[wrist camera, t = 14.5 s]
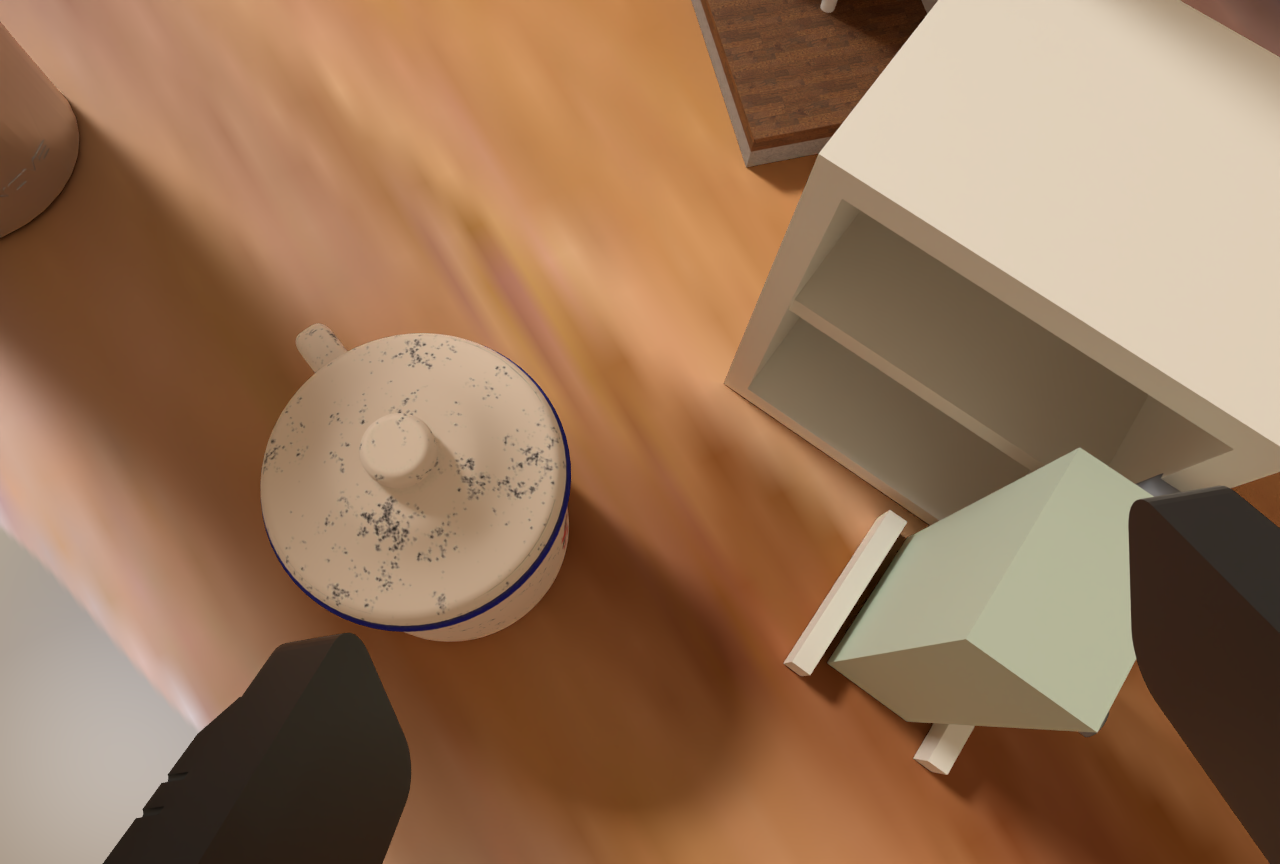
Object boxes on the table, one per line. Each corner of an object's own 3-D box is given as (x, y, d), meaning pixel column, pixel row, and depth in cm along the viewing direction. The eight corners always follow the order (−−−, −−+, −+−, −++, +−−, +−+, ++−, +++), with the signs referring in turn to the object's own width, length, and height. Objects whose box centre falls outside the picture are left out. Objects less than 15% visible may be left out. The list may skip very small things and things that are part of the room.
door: (826, 662, 33) (965, 639, 21) (906, 537, 35) (1079, 447, 23) (929, 738, 33) (1135, 759, 20) (1005, 607, 34) (1239, 553, 22)
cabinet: (609, 536, 34) (623, 403, 19) (848, 215, 39) (1012, -95, 24) (931, 771, 32) (1234, 832, 17) (1141, 403, 37) (1522, 195, 22)
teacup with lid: (622, 547, 34) (637, 473, 23) (429, 700, 32) (344, 699, 21) (443, 324, 37) (379, 159, 26) (252, 454, 35) (92, 336, 24)
